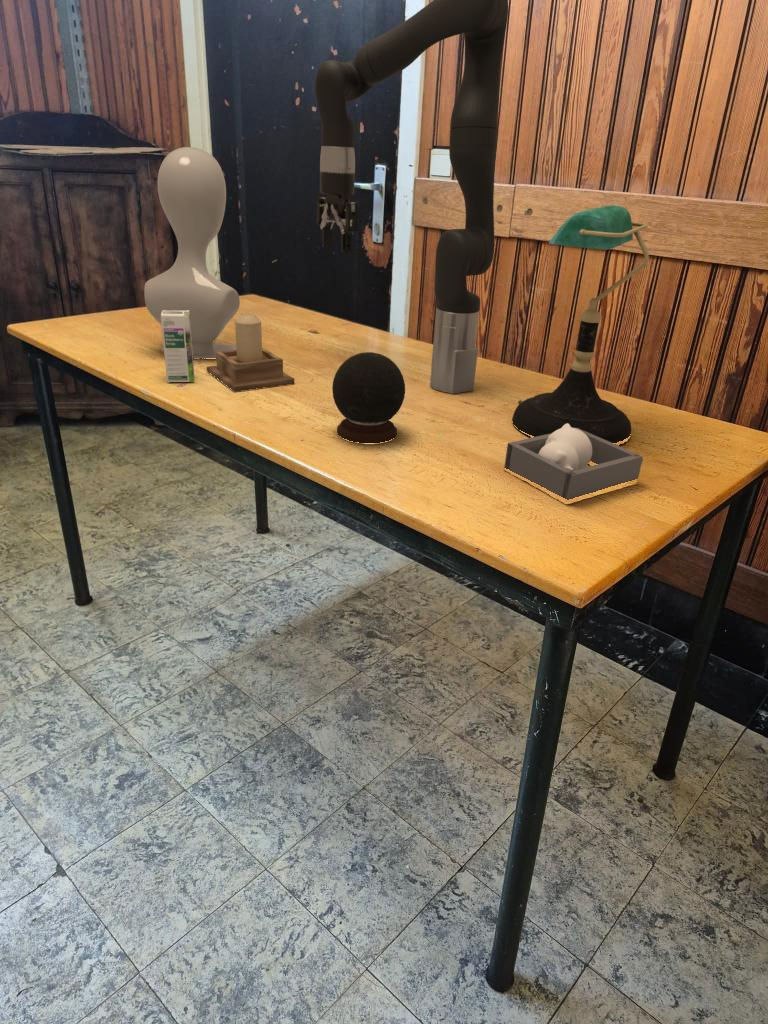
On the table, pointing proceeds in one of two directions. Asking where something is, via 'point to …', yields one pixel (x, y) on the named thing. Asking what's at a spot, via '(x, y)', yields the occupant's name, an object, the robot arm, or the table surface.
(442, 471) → the table surface
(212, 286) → the mannequin bust
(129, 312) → the table surface
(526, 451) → the figurine tray
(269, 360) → the display pedestal
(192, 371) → the syrup box
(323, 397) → the table surface
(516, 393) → the table surface
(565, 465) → the cat figurine
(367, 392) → the black crystal ball
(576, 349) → the banker's lamp
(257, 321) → the candle
